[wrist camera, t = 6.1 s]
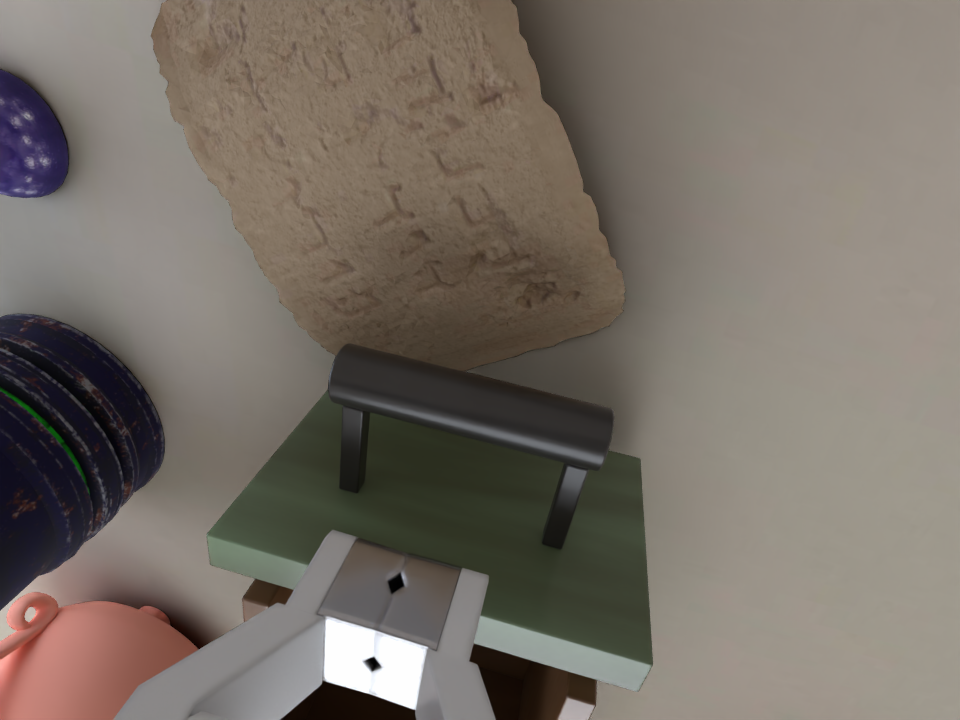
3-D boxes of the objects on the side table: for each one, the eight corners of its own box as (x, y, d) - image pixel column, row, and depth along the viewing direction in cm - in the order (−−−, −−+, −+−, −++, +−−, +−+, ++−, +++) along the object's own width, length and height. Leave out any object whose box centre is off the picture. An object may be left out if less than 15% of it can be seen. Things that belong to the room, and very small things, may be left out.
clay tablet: (152, 10, 17) (79, 5, 15) (440, -221, 13) (403, -277, 11) (389, 398, 22) (363, 439, 20) (645, 312, 18) (650, 350, 16)
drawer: (339, 263, 19) (186, 384, 12) (685, 345, 18) (728, 527, 11) (327, 607, 28) (236, 784, 21) (554, 675, 27) (534, 885, 20)
